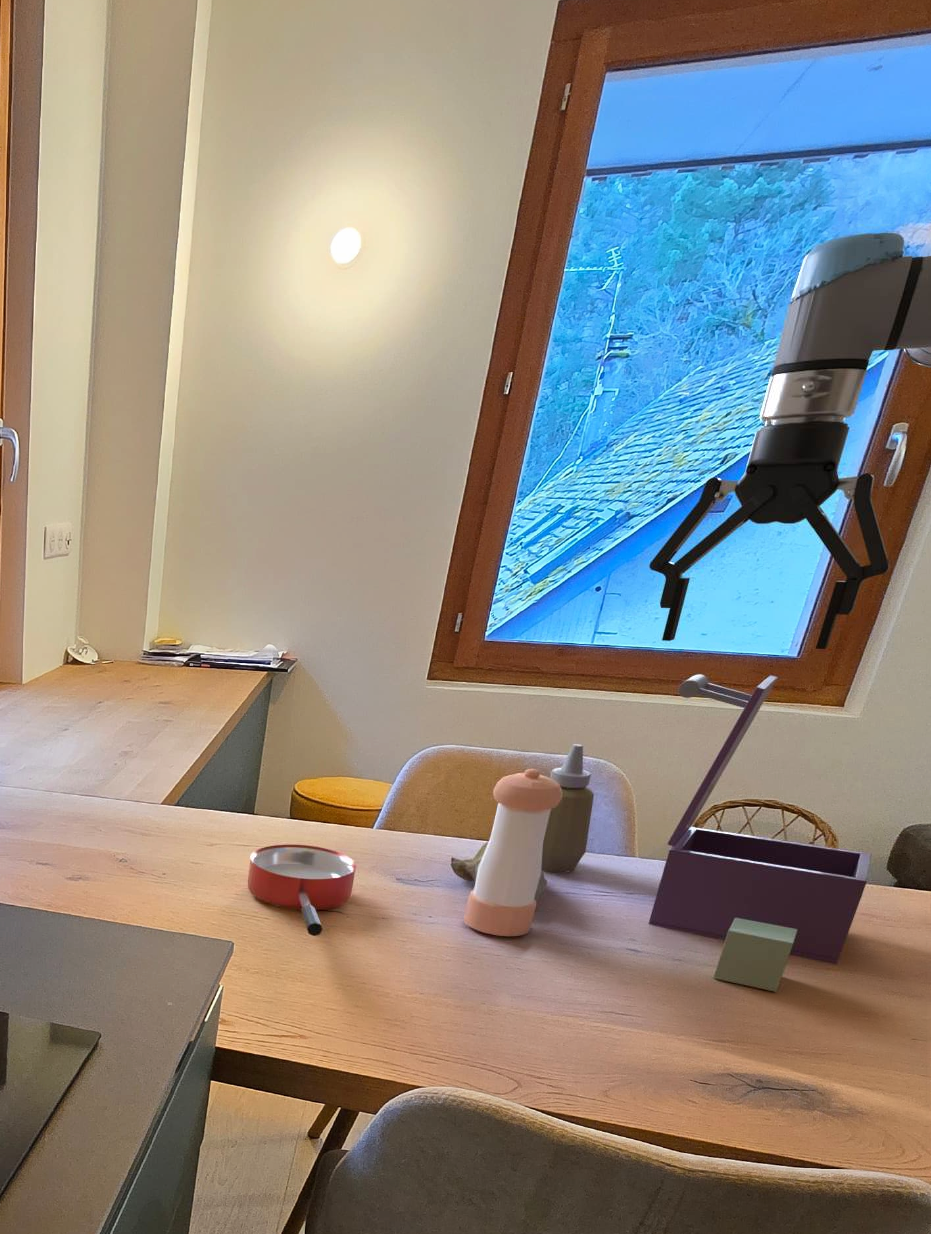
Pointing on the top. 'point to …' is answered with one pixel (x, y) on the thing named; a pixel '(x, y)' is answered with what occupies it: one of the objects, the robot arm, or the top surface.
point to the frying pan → (301, 879)
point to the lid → (751, 708)
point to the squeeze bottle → (568, 816)
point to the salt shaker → (513, 855)
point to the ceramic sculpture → (470, 867)
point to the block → (755, 954)
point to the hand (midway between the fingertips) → (741, 644)
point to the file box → (762, 889)
